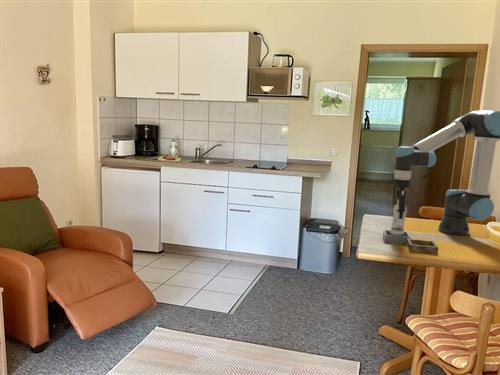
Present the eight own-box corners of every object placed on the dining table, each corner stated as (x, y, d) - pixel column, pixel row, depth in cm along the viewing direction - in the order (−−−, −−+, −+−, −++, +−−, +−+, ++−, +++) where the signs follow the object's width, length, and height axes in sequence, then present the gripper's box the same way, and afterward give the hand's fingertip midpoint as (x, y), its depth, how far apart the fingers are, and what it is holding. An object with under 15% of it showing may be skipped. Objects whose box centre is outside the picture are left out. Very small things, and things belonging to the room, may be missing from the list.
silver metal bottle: (390, 236, 223) (395, 197, 220) (404, 239, 220) (409, 199, 217) (387, 238, 218) (392, 198, 215) (401, 241, 215) (407, 201, 211)
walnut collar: (432, 247, 210) (433, 240, 210) (437, 254, 199) (438, 247, 199) (406, 244, 212) (406, 238, 212) (409, 251, 202) (410, 244, 201)
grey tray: (407, 238, 223) (407, 231, 222) (410, 244, 213) (410, 237, 212) (382, 236, 225) (383, 229, 225) (384, 242, 215) (385, 235, 214)
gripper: (391, 175, 227) (387, 215, 230) (396, 181, 203) (392, 227, 206) (406, 176, 225) (402, 217, 229) (414, 183, 201) (409, 228, 205)
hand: (397, 222), depth 218 cm, fingers open, 13 cm apart
